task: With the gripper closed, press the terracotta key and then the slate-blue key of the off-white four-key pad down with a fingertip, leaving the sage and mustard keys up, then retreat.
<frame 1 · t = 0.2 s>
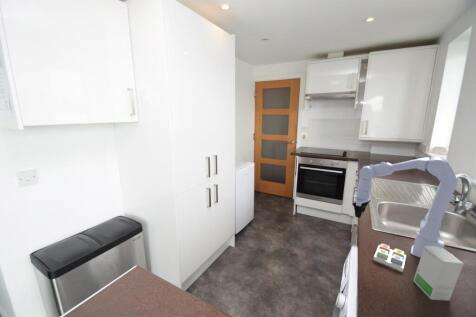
hand: (359, 214, 108), 10 cm above the countertop, fingers open, 7 cm apart
keypad board: (389, 259, 90), on the countertop
key slate: (397, 259, 86), point 3 cm above the countertop, slide at 0.0 cm
skincare box: (431, 291, 75), on the countertop
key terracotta: (384, 248, 93), point 3 cm above the countertop, slide at 0.0 cm
key mustard: (398, 253, 90), point 3 cm above the countertop, slide at 0.0 cm
key sage: (382, 253, 89), point 3 cm above the countertop, slide at 0.0 cm
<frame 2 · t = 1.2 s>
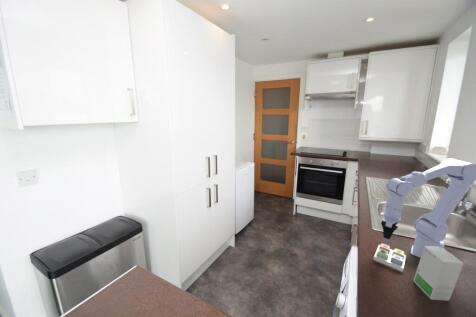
hand: (387, 235, 92), 9 cm above the countertop, fingers open, 5 cm apart
nothing on the countertop moved.
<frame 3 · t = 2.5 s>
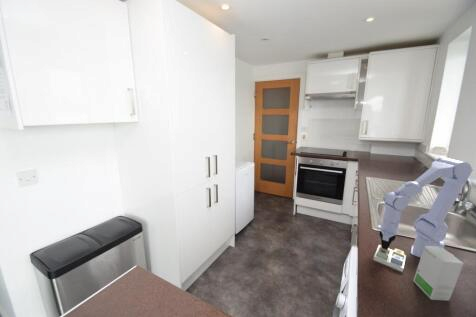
hand: (384, 247, 93), 3 cm above the countertop, fingers closed, pressing on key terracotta
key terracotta: (384, 250, 93), point 2 cm above the countertop, slide at -0.9 cm, touching gripper
everything else where it was.
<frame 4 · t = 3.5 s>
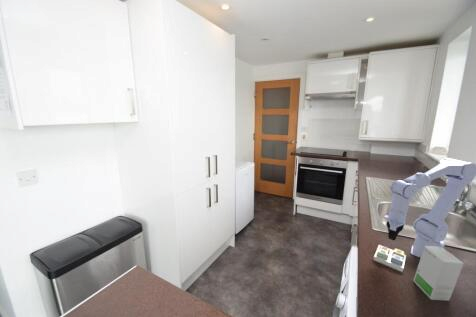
hand: (391, 238, 89), 9 cm above the countertop, fingers closed
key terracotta: (384, 250, 93), point 2 cm above the countertop, slide at -1.1 cm
everything else where it was.
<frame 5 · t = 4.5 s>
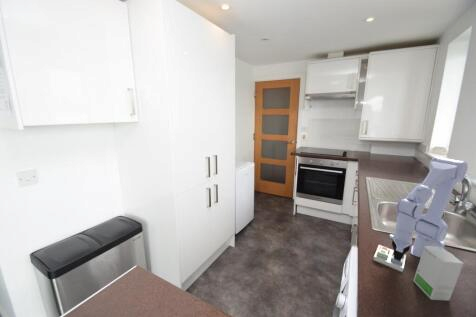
hand: (397, 258, 86), 3 cm above the countertop, fingers closed, pressing on key slate
key slate: (396, 261, 86), point 2 cm above the countertop, slide at -0.7 cm, touching gripper
everything else where it was.
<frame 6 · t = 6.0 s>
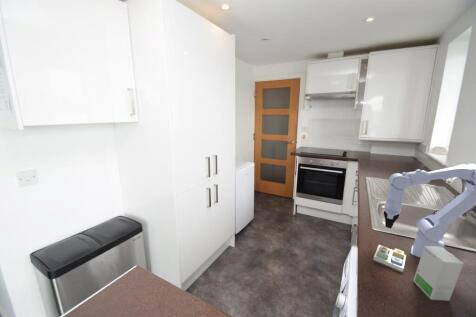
hand: (388, 227, 97), 10 cm above the countertop, fingers closed
key slate: (396, 261, 86), point 2 cm above the countertop, slide at -1.1 cm
everything else where it was.
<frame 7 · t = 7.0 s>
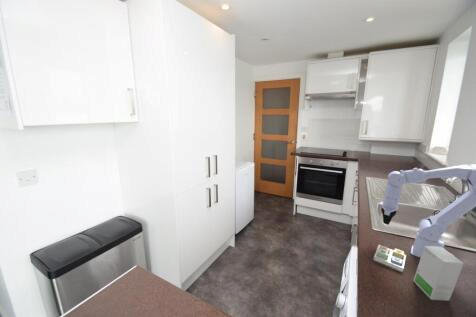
hand: (386, 223, 100), 10 cm above the countertop, fingers closed
nothing on the countertop moved.
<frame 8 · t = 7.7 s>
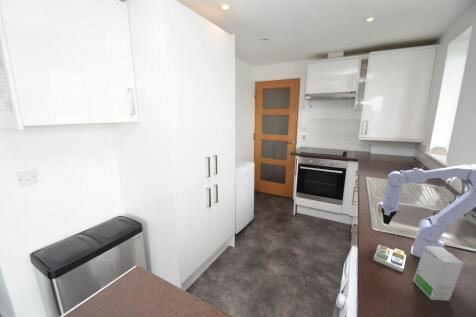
hand: (386, 223, 100), 10 cm above the countertop, fingers closed
nothing on the countertop moved.
at the end: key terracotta slide at -1.1 cm; key slate slide at -1.1 cm; key sage slide at 0.0 cm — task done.
